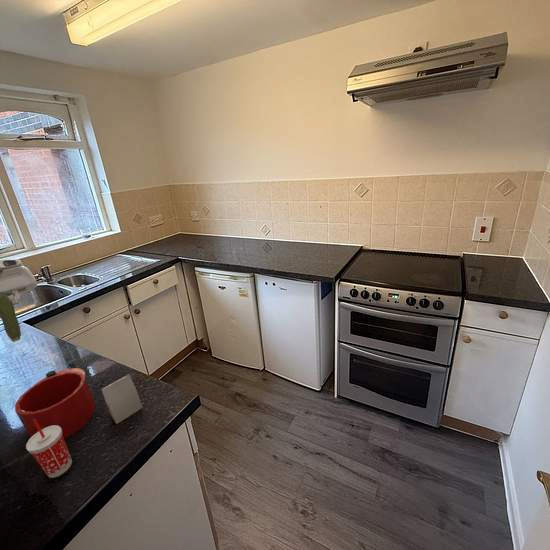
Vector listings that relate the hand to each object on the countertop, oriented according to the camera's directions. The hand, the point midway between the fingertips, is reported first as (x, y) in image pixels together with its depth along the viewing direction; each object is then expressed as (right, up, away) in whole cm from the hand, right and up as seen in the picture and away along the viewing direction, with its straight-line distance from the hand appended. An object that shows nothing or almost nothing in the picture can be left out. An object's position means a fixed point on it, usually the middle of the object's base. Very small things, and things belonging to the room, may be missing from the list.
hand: (4, 308), depth 91 cm
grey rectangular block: (+44, -26, -13) cm, 53 cm away
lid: (+16, -24, 0) cm, 29 cm away
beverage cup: (+36, -32, -26) cm, 54 cm away
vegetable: (+1, -11, +5) cm, 12 cm away
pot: (+27, -28, -13) cm, 41 cm away
